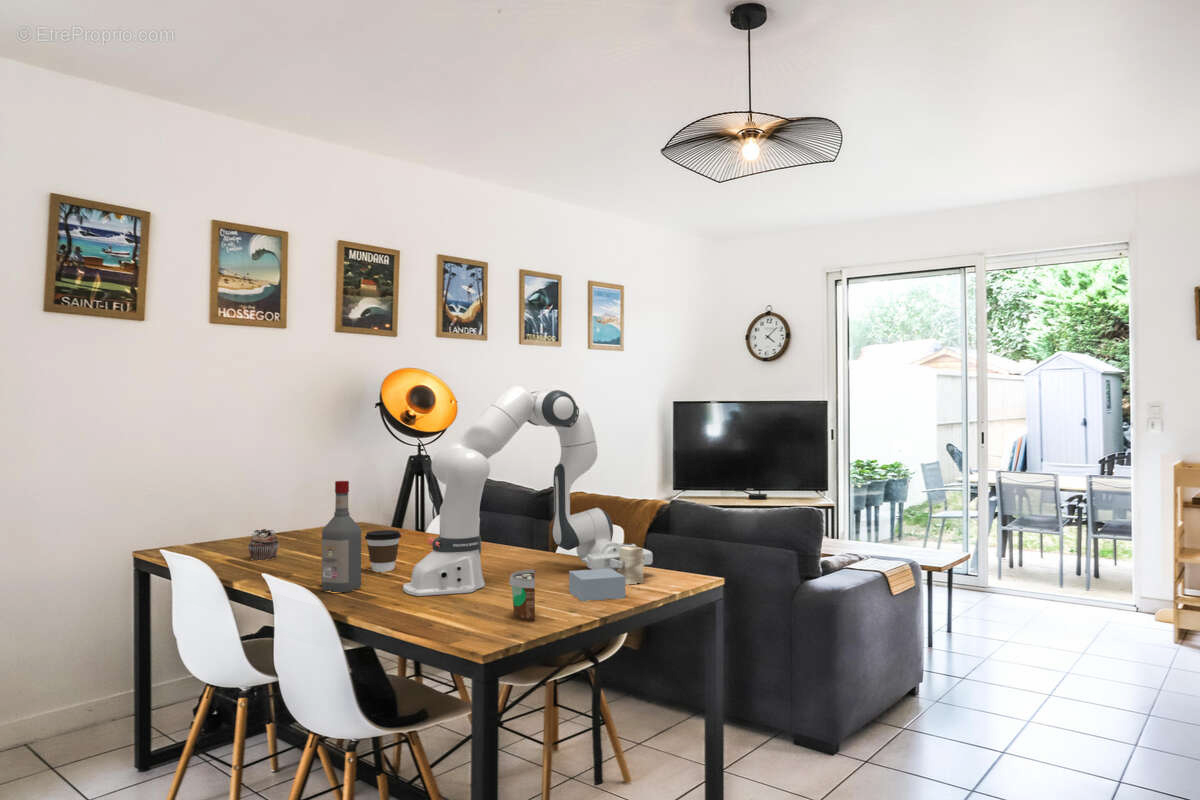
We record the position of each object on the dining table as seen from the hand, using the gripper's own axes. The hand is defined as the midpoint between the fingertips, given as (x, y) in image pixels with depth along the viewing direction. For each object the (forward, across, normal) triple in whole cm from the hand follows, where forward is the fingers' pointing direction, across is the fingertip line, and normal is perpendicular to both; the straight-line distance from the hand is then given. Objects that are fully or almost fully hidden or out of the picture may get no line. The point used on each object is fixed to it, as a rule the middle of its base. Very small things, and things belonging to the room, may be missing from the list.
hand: (632, 563), depth 223 cm
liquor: (-32, -75, +6) cm, 82 cm away
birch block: (-1, 0, +6) cm, 6 cm away
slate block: (+8, -16, +6) cm, 19 cm away
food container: (+19, -42, +6) cm, 47 cm away
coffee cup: (-53, -59, +6) cm, 79 cm away
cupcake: (-94, -90, +6) cm, 130 cm away
